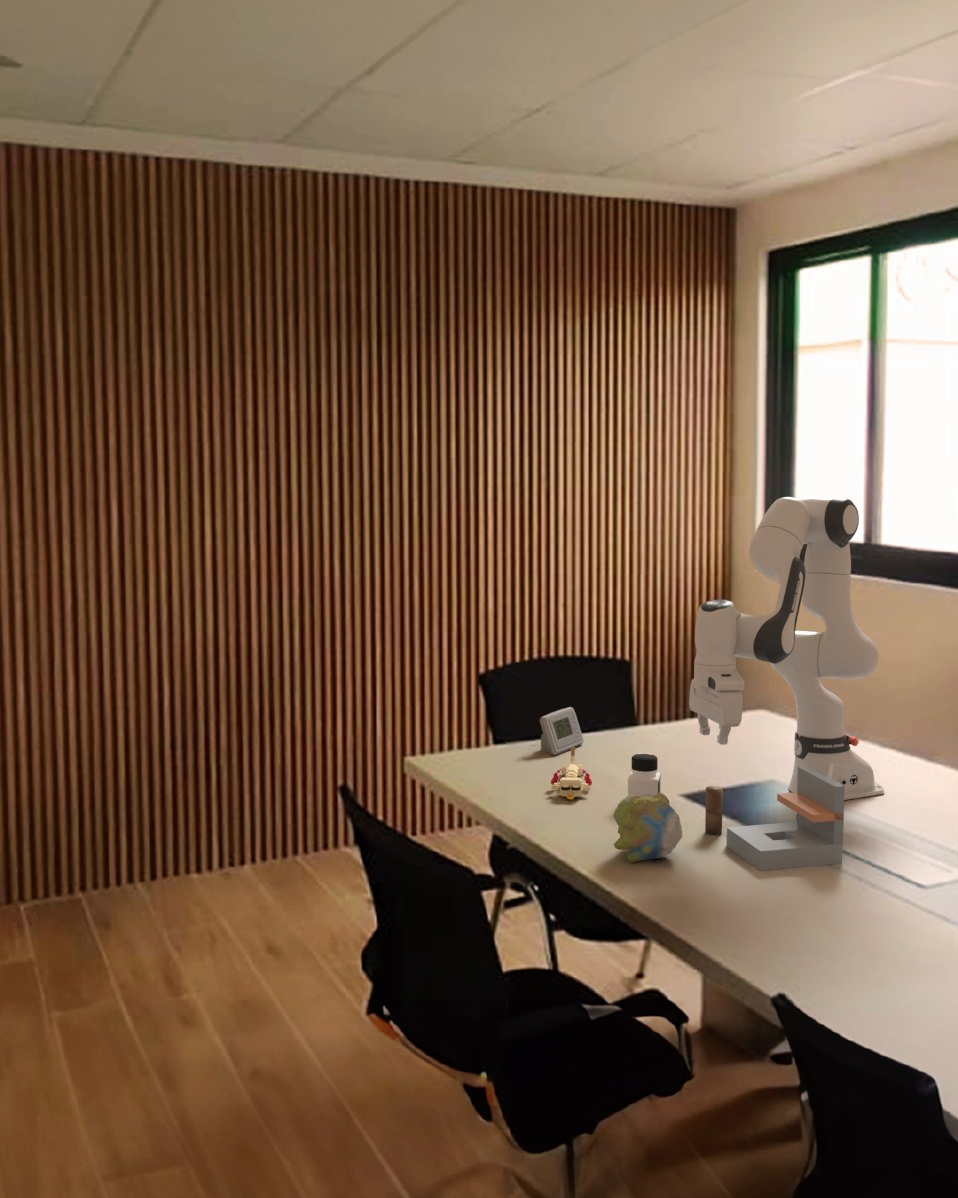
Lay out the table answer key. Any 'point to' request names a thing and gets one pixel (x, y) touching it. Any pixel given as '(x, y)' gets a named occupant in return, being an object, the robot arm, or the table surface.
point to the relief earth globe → (647, 826)
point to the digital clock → (560, 731)
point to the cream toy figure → (571, 779)
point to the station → (797, 828)
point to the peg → (713, 810)
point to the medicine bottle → (644, 775)
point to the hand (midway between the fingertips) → (713, 739)
